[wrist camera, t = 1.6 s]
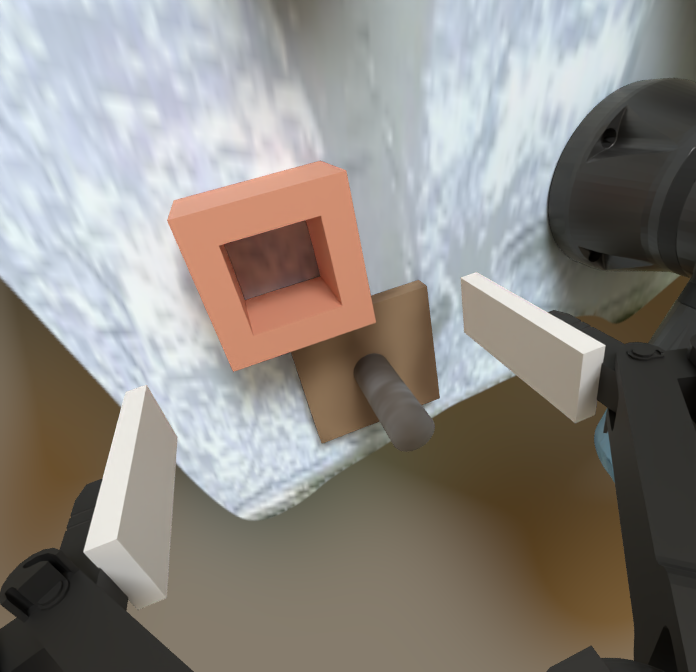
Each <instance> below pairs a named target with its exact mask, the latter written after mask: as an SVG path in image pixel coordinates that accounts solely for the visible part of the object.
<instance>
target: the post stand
mask: <svg viewBox="0 0 696 672" xmlns="http://www.w3.org/2000/svg"><path fill="white" fill-rule="evenodd" d="M371 299H372V304H373V309H374V315H375V320H376V323H373V324H370V325H367V326H364V327H362V328H359V329H356V330H353V331H350V332H347V333H344V334H341V335H338V336H335V337H333V338H330V339H327V340H324V341H321V342H318V343H315V344H312V345H309V346H306V347H303V348H301V349H298V350H295V351H292V352H291V354H292V357H293V360H294V363H295V366H296V369H297V372H298V375H299V378H300V381H301V384H302V387H303V390H304V393H305V396H306V399H307V402H308V405H309V408H310V411H311V414H312V417H313V420H314V423H315V426H316V429H317V432H318V435H319V437H320V440H321V443H325V442H327V441H330V440H333V439H335V438H338V437H340V436H343V435H345V434H348V433H351V432H353V431H356V430H358V429H361V428H364V427H366V426H369V425H371V424H374V423H377V422H379V421H380V423H381V424H382V426H383V428H384V429H385V431H386V433H387V435H388V436H389V438H390V440H391V442H392V443H393V445H394V446H395V447H396V448H397V449H398V450H400V451H413V450H416V449H418V448H420V447H422V446H423V445H425V444H426V443H427V442H428V441H429V439H430V438H431V437H432V435H433V433H434V428H435V425H434V422H433V420H432V418H431V417H430V416H429V415H428V413H427V412H426V411H425V409H424V408H423V407H422V405H423V404H426V403H428V402H431V401H434V400H436V399H439V398H440V396H439V387H438V379H437V370H436V361H435V353H434V344H433V336H432V327H431V318H430V310H429V301H428V292H427V286H426V285H425V284H423V283H422V282H421V281H419V280H417V281H414V282H411V283H408V284H405V285H402V286H399V287H396V288H393V289H390V290H387V291H384V292H381V293H378V294H375V295H372V296H371Z"/></svg>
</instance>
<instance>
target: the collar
mask: <svg viewBox="0 0 696 672" xmlns="http://www.w3.org/2000/svg"><path fill="white" fill-rule="evenodd" d="M304 220H306V223H307V226H308V230H309V234H310V238H311V242H312V246H313V250H314V253H315V257H316V261H317V265H318V269H319V273H320V276H319V277H316V278H313V279H310V280H307V281H303V282H300V283H297V284H294V285H291V286H288V287H285V288H281V289H278V290H275V291H272V292H269V293H266V294H263V295H259V296H256V297H253V298H250V299H247V300H245V299H244V296H243V293H242V291H241V288H240V285H239V283H238V280H237V278H236V275H235V272H234V270H233V267H232V264H231V262H230V259H229V256H228V254H227V251H226V248H225V246H224V244H226V243H229V242H233V241H236V240H240V239H243V238H246V237H250V236H253V235H257V234H260V233H263V232H267V231H270V230H274V229H277V228H280V227H284V226H287V225H291V224H294V223H297V222H301V221H304ZM167 221H168V223H169V226H170V228H171V230H172V233H173V235H174V237H175V239H176V242H177V244H178V246H179V249H180V251H181V253H182V256H183V258H184V260H185V262H186V265H187V267H188V269H189V272H190V274H191V276H192V278H193V281H194V283H195V285H196V288H197V290H198V292H199V294H200V297H201V299H202V301H203V304H204V306H205V308H206V311H207V313H208V315H209V317H210V320H211V322H212V324H213V327H214V329H215V331H216V333H217V336H218V338H219V340H220V343H221V345H222V347H223V349H224V352H225V354H226V356H227V359H228V361H229V363H230V366H231V368H232V370H233V372H234V371H237V370H240V369H243V368H245V367H248V366H251V365H254V364H257V363H260V362H263V361H266V360H269V359H272V358H274V357H277V356H280V355H283V354H286V353H289V352H292V351H295V350H298V349H301V348H303V347H306V346H309V345H312V344H315V343H318V342H321V341H324V340H327V339H330V338H333V337H335V336H338V335H341V334H344V333H347V332H350V331H353V330H356V329H359V328H362V327H364V326H367V325H370V324H373V323H376V320H375V315H374V309H373V304H372V299H371V294H370V289H369V284H368V279H367V274H366V269H365V264H364V258H363V253H362V248H361V243H360V238H359V233H358V228H357V223H356V218H355V213H354V208H353V202H352V197H351V192H350V187H349V182H348V177H347V172H346V170H344V169H341V168H338V167H336V166H333V165H330V164H328V163H325V162H322V161H318V162H314V163H310V164H307V165H303V166H299V167H296V168H292V169H288V170H284V171H281V172H277V173H273V174H270V175H266V176H262V177H259V178H255V179H251V180H248V181H244V182H240V183H237V184H233V185H229V186H226V187H222V188H218V189H215V190H211V191H207V192H203V193H200V194H196V195H192V196H189V197H185V198H181V199H178V200H174V201H173V204H172V207H171V210H170V213H169V216H168V219H167Z"/></svg>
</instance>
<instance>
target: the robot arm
mask: <svg viewBox="0 0 696 672" xmlns="http://www.w3.org/2000/svg"><path fill="white" fill-rule="evenodd" d="M549 221H550V227H551V231H552V234H553V237H554V239H555V241H556V243H557V245H558V247H559V248H560V249H561V251H562V252H563V253H564V254H565V255H567V256H568V257H569V258H571V259H572V260H574V261H577V262H579V263H582V264H584V265H587V266H590V267H592V268H595V269H599V270H605V271H654V272H673V273H676V274H679V275H682V276H685V277H688V278H690V280H689V282H688V283H687V285H686V287H685V288H684V290H683V291H682V293H681V294H680V296H679V297H678V299H677V300H676V301H675V303H674V304H673V306H672V307H671V309H670V310H669V312H668V313H667V315H666V317H665V318H664V320H663V321H662V323H661V324H660V326H659V328H658V329H657V330H656V332H655V333H654V335H653V336H652V338H651V340H650V341H649V343H641V342H632V343H627V344H623V343H622V342H620V341H618V340H616V339H614V338H612V337H610V336H608V335H607V334H605V333H603V332H601V331H599V330H597V329H596V328H594V327H590V325H588V324H586V323H584V322H581V320H579V319H577V318H575V317H573V316H571V315H570V314H567V313H563V312H559V311H555V310H553V311H550V312H546V311H544V310H542V309H541V308H539V307H537V306H535V305H534V304H532V303H530V302H528V301H526V300H525V299H523V298H521V297H519V296H518V295H516V294H514V293H512V292H511V291H509V290H507V289H505V288H504V287H502V286H500V285H498V284H496V283H495V282H493V281H491V280H489V279H488V278H486V277H484V276H482V275H481V274H479V273H477V272H476V273H473V274H470V275H467V276H464V277H461V291H462V306H463V321H464V333H466V334H467V335H468V336H469V337H471V338H472V339H473V340H474V341H475V342H477V343H478V344H479V345H480V346H482V347H483V348H484V349H485V350H486V351H488V352H489V353H490V354H491V355H493V356H494V357H495V358H496V359H497V360H499V361H500V362H501V363H502V364H504V365H505V366H506V367H507V368H508V369H510V370H511V371H512V372H513V373H515V374H516V375H517V376H518V377H520V378H521V379H522V380H523V381H525V382H526V383H527V384H528V385H529V386H530V387H532V388H533V389H534V390H535V391H537V392H538V393H539V394H540V395H542V396H543V397H544V398H545V399H547V401H549V402H550V403H551V404H552V405H554V406H555V407H556V408H557V409H559V410H560V411H561V412H562V413H563V414H565V415H566V416H567V417H568V418H570V419H571V420H572V421H573V422H574V423H577V422H580V421H582V420H585V419H587V418H589V417H591V416H593V415H595V413H596V407H597V400H598V401H599V402H601V403H602V404H604V405H605V406H606V407H607V409H606V411H605V413H604V415H603V416H602V418H601V420H600V422H599V424H598V425H597V427H596V430H595V435H594V443H595V448H596V451H597V454H598V457H599V459H600V461H601V463H602V465H603V466H604V468H605V469H606V471H607V472H608V473H609V474H610V476H611V477H612V479H613V481H614V482H615V487H616V494H617V501H618V509H619V516H620V524H621V531H622V539H623V546H624V554H625V561H626V568H627V575H628V583H629V591H630V598H631V605H632V613H633V620H634V661H633V660H627V659H621V658H600V657H599V655H598V654H597V652H596V651H595V650H594V648H593V647H592V646H590V647H588V648H586V649H584V650H582V651H580V652H578V653H576V654H574V655H573V656H571V657H569V658H567V659H565V660H564V661H561V662H560V663H558V664H556V665H554V666H552V667H550V668H549V669H548V671H547V672H696V82H694V81H690V80H686V79H679V78H664V79H652V80H642V81H637V82H634V83H631V84H628V85H626V86H624V87H622V88H620V89H618V90H616V91H615V92H613V93H612V94H610V95H609V96H607V97H606V98H605V99H604V100H602V101H601V102H600V103H599V104H598V105H597V106H596V107H594V108H593V110H592V111H591V112H590V113H589V114H588V115H587V116H586V117H585V118H584V120H583V121H582V122H581V123H580V125H579V126H578V127H577V129H576V130H575V132H574V133H573V135H572V136H571V138H570V140H569V141H568V143H567V145H566V147H565V149H564V151H563V153H562V155H561V157H560V160H559V162H558V165H557V167H556V170H555V174H554V177H553V181H552V185H551V190H550V197H549ZM176 451H177V436H176V434H175V432H174V431H173V429H172V427H171V426H170V424H169V422H168V420H167V419H166V417H165V415H164V414H163V412H162V410H161V408H160V407H159V405H158V403H157V402H156V400H155V398H154V397H153V395H152V393H151V391H150V390H149V388H148V386H147V385H145V386H142V387H139V388H136V389H133V390H130V391H127V392H125V396H124V400H123V404H122V407H121V411H120V415H119V419H118V423H117V426H116V430H115V434H114V438H113V442H112V445H111V450H110V453H109V457H108V461H107V464H106V468H105V472H104V476H103V479H100V480H97V481H95V482H92V483H89V484H87V485H86V486H85V487H84V489H83V490H82V492H81V493H80V495H79V496H78V497H77V499H76V500H75V503H74V506H73V509H72V513H71V518H70V519H69V522H68V525H67V531H66V532H65V534H64V538H63V541H62V544H61V547H60V550H58V549H55V548H50V549H45V550H42V551H40V552H37V553H35V554H33V555H31V556H30V557H29V558H27V559H26V560H25V561H23V562H22V563H20V564H19V565H18V567H16V569H15V570H14V571H13V572H12V573H11V574H10V575H9V576H8V578H7V580H6V581H5V582H4V584H3V586H2V588H1V591H0V604H1V605H2V606H3V607H5V608H6V609H7V610H8V611H9V612H11V613H12V614H13V615H15V616H16V617H17V618H16V619H14V620H13V621H11V622H10V623H8V624H7V625H5V626H4V627H3V628H1V629H0V672H193V671H192V670H191V669H190V668H189V667H188V666H187V665H186V664H184V663H183V662H182V661H181V660H180V659H179V658H178V657H177V656H176V655H174V654H173V653H172V652H171V651H170V650H169V649H168V648H167V647H165V646H164V645H163V644H162V643H161V642H160V641H159V640H158V639H157V638H155V637H154V636H153V635H152V634H151V633H150V632H149V631H148V630H147V629H145V628H144V627H143V626H142V625H141V624H140V623H139V622H138V621H137V620H135V619H134V618H133V617H132V616H131V615H130V614H129V613H128V612H127V611H126V610H127V602H128V600H129V601H130V602H131V603H132V604H133V605H134V606H135V607H136V608H137V610H139V609H141V608H144V607H146V606H149V605H151V604H154V603H156V602H158V601H160V600H163V599H165V598H167V586H168V571H169V556H170V541H171V526H172V511H173V496H174V480H175V466H176Z"/></svg>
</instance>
